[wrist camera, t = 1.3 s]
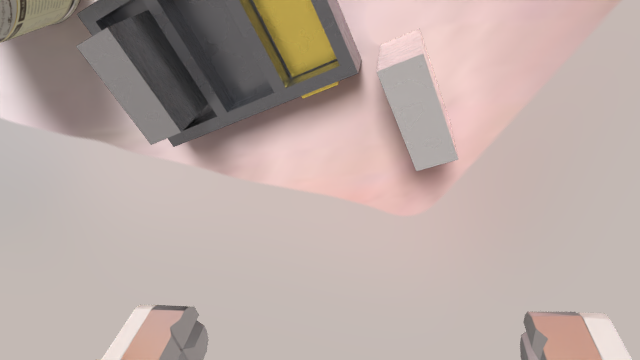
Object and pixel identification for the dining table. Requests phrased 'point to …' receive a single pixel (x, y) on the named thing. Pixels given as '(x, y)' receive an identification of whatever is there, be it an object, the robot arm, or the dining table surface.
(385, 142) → the dining table surface
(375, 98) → the dining table surface
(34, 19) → the coffee can
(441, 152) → the grey rectangular block
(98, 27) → the rack
